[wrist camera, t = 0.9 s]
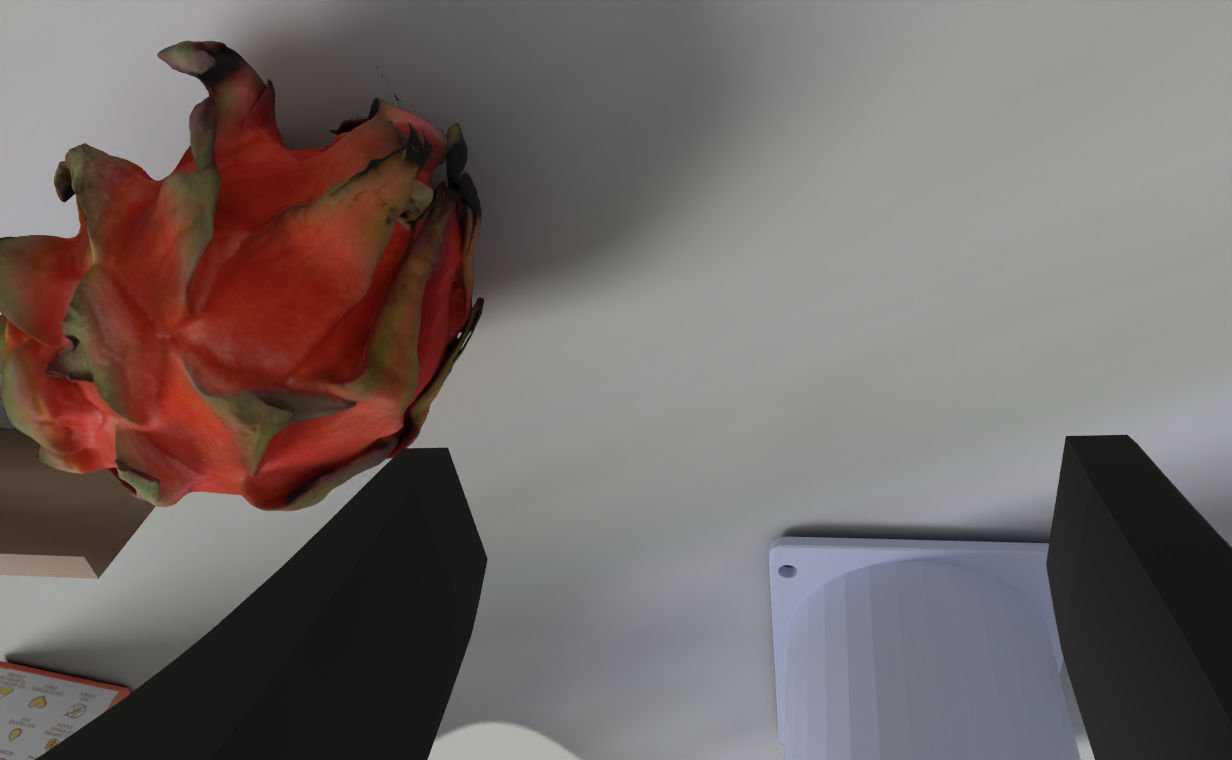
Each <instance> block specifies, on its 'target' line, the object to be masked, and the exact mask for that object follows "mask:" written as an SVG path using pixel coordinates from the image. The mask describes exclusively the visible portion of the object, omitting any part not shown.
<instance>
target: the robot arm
mask: <svg viewBox="0 0 1232 760" xmlns="http://www.w3.org/2000/svg"><path fill="white" fill-rule="evenodd" d="M486 564H487V556H486V554H485V551H484V548H483V545H482V542H481V540H480V537H479V534H478V531H477V528H476V525H475V523H474V520H473V517H472V514H471V511H470V509H469V506H468V503H467V500H466V497H465V495H464V492H463V489H462V486H461V483H460V480H459V478H458V475H457V472H456V469H455V466H454V464H453V461H452V458H451V455H450V452H449V450H448V448H407V449H402V450H401V451H400V452H399V453H398V454H397V455H396V456H395V457H394V458H393V459H392V460H390V461H389V462H388V463H387V464H386V465H385V466H384V467H383V468H382V469H381V470H380V471H379V472H378V473H377V474H376V475H375V476H374V477H373V478H372V479H371V480H370V481H369V482H368V483H367V484H366V485H365V486H364V487H363V488H362V489H361V490H360V491H359V492H358V493H357V494H356V495H355V496H354V497H353V498H352V499H351V500H350V501H349V502H348V503H347V504H346V505H345V506H344V507H343V508H342V509H341V510H340V511H339V512H338V513H337V514H336V515H335V516H334V517H333V518H332V519H331V520H330V521H329V522H328V523H327V524H326V525H325V526H324V527H323V528H321V529H320V530H319V531H318V532H317V533H316V534H315V535H314V536H313V537H312V538H311V539H310V540H309V541H308V542H307V543H306V544H305V545H304V546H303V547H302V548H301V549H300V550H299V551H298V552H297V553H296V554H295V555H294V556H293V557H292V558H291V559H290V560H289V561H288V562H287V563H285V564H284V565H283V566H282V567H281V568H280V569H279V570H278V571H277V572H276V573H275V574H273V575H272V576H271V577H270V578H269V579H268V580H267V581H266V582H265V583H263V584H262V585H261V586H260V587H259V588H258V589H257V590H256V591H255V592H253V593H252V594H251V595H250V596H249V597H248V598H247V599H246V600H245V601H243V602H242V603H241V604H240V605H239V606H238V607H237V608H236V609H234V610H233V611H232V612H231V613H230V614H229V615H228V616H227V617H226V618H224V619H223V620H222V621H221V622H220V623H219V624H218V625H217V626H215V627H214V628H213V629H212V630H211V631H210V632H208V633H207V634H206V635H205V636H204V637H202V638H201V639H200V640H199V641H198V642H196V643H195V644H194V645H193V646H191V647H190V648H189V649H188V650H186V651H185V652H184V653H183V654H182V655H180V656H179V657H178V658H177V659H175V660H174V661H173V662H171V663H170V664H169V665H167V666H166V667H165V668H164V669H162V670H161V671H160V672H158V673H157V674H156V675H154V676H153V677H152V678H151V679H149V680H148V681H147V682H145V683H144V684H143V685H141V686H140V687H139V688H138V689H136V690H135V691H134V692H132V693H131V694H129V695H128V696H127V697H125V698H124V699H123V700H121V701H120V702H118V703H117V704H116V705H114V706H113V707H111V708H110V709H108V710H107V711H105V712H104V713H102V714H101V715H99V716H98V717H97V718H95V719H94V720H92V721H91V722H89V723H88V724H86V725H85V726H83V727H82V728H80V729H79V730H78V731H76V732H75V733H73V734H72V735H70V736H69V737H67V738H66V739H64V740H63V741H62V742H60V743H59V744H57V745H56V746H54V747H53V748H51V749H50V750H48V751H47V752H45V753H44V754H43V755H41V756H39V757H38V758H36V759H35V760H427V759H428V757H429V754H430V751H431V748H432V745H433V743H434V740H435V737H436V734H437V731H438V729H439V726H440V723H441V720H442V717H443V715H444V712H445V709H446V706H447V703H448V701H449V698H450V695H451V692H452V689H453V686H454V684H455V681H456V678H457V675H458V672H459V669H460V666H461V663H462V661H463V658H464V655H465V652H466V649H467V646H468V643H469V640H470V637H471V634H472V630H473V626H474V622H475V617H476V613H477V608H478V604H479V600H480V594H481V589H482V584H483V579H484V574H485V569H486ZM783 565H791V566H793V567H784V566H783ZM769 571H770V589H771V607H772V625H773V643H774V661H775V679H776V697H777V715H778V733H779V740H780V742H781V743H782V744H783V745H784V760H1080V755H1079V751H1078V747H1077V743H1076V739H1075V735H1074V731H1073V727H1072V723H1071V719H1070V715H1069V711H1068V707H1067V703H1066V699H1065V695H1064V690H1063V686H1062V682H1061V678H1060V673H1061V668H1062V664H1063V659H1064V660H1065V664H1066V667H1067V670H1068V674H1069V677H1070V680H1071V684H1072V687H1073V690H1074V693H1075V697H1076V700H1077V703H1078V706H1079V710H1080V713H1081V716H1082V719H1083V722H1084V726H1085V729H1086V732H1087V735H1088V738H1089V742H1090V745H1091V748H1092V751H1093V754H1094V758H1095V760H1232V547H1231V546H1230V545H1229V544H1228V543H1227V542H1226V541H1225V540H1224V539H1223V538H1222V537H1221V536H1220V535H1219V534H1218V533H1217V532H1216V531H1215V530H1214V529H1213V527H1212V526H1211V525H1210V524H1209V523H1208V522H1207V521H1206V520H1205V519H1204V518H1203V517H1202V516H1201V514H1200V513H1199V512H1198V511H1197V510H1196V509H1195V508H1194V507H1193V506H1192V505H1191V504H1190V503H1189V501H1188V500H1187V499H1186V498H1185V497H1184V496H1183V495H1182V494H1181V493H1180V492H1179V490H1178V489H1177V488H1176V487H1175V486H1174V485H1173V484H1172V483H1171V481H1170V480H1169V479H1168V478H1167V477H1166V476H1165V475H1164V474H1163V472H1162V471H1161V470H1160V469H1159V468H1158V467H1157V466H1156V465H1155V463H1154V462H1153V461H1152V460H1151V459H1150V458H1149V457H1148V455H1147V454H1146V453H1145V452H1144V451H1143V450H1142V449H1141V448H1140V446H1139V445H1138V444H1137V443H1136V442H1135V441H1134V440H1133V439H1131V438H1130V437H1129V436H1128V435H1099V436H1066V439H1065V446H1064V452H1063V458H1062V465H1061V471H1060V478H1059V484H1058V490H1057V497H1056V503H1055V509H1054V516H1053V522H1052V529H1051V535H1050V541H1049V543H1017V542H978V541H939V540H900V539H861V538H822V537H780V538H778V539H775V540H774V541H773V542H772V543H771V544H770V547H769Z"/></svg>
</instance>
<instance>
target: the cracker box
mask: <svg viewBox="0 0 1232 760" xmlns="http://www.w3.org/2000/svg"><path fill="white" fill-rule="evenodd" d="M129 694H131V693H130V691H129V689H128V688H126V687H121V686H116V685H112V684H107V683H101V682H97V681H92V680H88V679H83V678H78V677H74V676H69V675H64V674H59V673H54V672H49V671H45V670H41V669H36V668H31V667H27V666H22V665H17V664H12V663H7V662H2V661H0V760H35V759H36V758H38V757H39V756H41V755H43V754H44V753H45V752H47V751H48V750H50V749H51V748H53V747H54V746H56V745H57V744H59V743H60V742H62V741H63V740H64V739H66V738H67V737H69V736H70V735H72V734H73V733H75V732H76V731H78V730H79V729H80V728H82V727H83V726H85V725H86V724H88V723H89V722H91V721H92V720H94V719H95V718H97V717H98V716H99V715H101V714H102V713H104V712H105V711H107V710H108V709H110V708H111V707H113V706H114V705H116V704H117V703H118V702H120V701H121V700H123V699H124V698H125V697H127V696H128V695H129Z"/></svg>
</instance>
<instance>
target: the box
mask: <svg viewBox="0 0 1232 760" xmlns="http://www.w3.org/2000/svg"><path fill="white" fill-rule="evenodd" d="M40 447H41V444H39V443H38V442H36V441H35V440H34V439H33V438H31V437H30V436H28V435H26V434H24V433H22V432H21V431H19V430H0V575H21V576H45V577H69V578H94V579H99V577H100V576H101V575H102V574H103V572H104V571H105V570H106V568H107V567H108V566H109V565H110V563H111V562H112V561H113V560H114V558H115V557H116V556H117V555H118V553H119V552H120V551H121V549H122V548H123V547H124V546H125V544H126V543H127V542H128V541H129V539H130V538H131V537H132V535H133V534H134V533H135V532H136V530H137V529H138V528H139V527H140V525H141V524H142V523H143V522H144V520H145V519H146V518H147V516H148V515H149V514H150V513H151V511H152V510H153V509H154V508H155V505H152V504H151V503H150V502H148V501H147V500H141V499H138V498H136V497H134V496H132V495H131V494H130V492H129V491H128V490H127V489H126V488H125V487H123V486H122V485H121V483H120V481H119V480H118V479H116V478H115V476H114V475H113V474H112V473H111V472H110V471H109V470H108V469H107V468H105V469H100V470H97V471H93V472H90V473H85V474H80V473H71V472H66V471H63V470H59V469H56V468H53V467H51V466H49V465H47V464H45V463H43V462H41V461H40V460H38V459H37V458H36V456H38V455H39V450H40Z"/></svg>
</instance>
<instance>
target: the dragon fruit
mask: <svg viewBox="0 0 1232 760" xmlns="http://www.w3.org/2000/svg"><path fill="white" fill-rule="evenodd" d="M157 56H158V57H159V58H160V59H162V60H163V61H165V62H166V63H167V64H168V65H169V66H170V67H171V68H172V69H175V70H177V71H179V72H182V73H186V74H189V75H191V76H194V77H196V78H198V79H199V80H200V81H201V82H202V83H203V84H204V85H205V87H206V89H207V90H208V92H209V97H207V98H206V99H204V100H203V101H202V102H201V103H199V104H197V105H196V106H195V107H194V109H193V111H192V113H191V115H190V119H189V122H190V124H189V128H190V135H191V137H190V140H191V145H190V147H189V148H188V149H187V150H186V152H185V154H184V155H183V157H182V159H181V160H180V162H179V164H178V165H177V167H176V168H175V169H174V171H173V172H172V173H171V174H170V175H169V176H167V177H166V178H164V179H163V180H160V181H156V180H153V179H152V178H151V177H150V176H149V175H148V174H147V173H146V172H145V171H144V170H143V169H142V168H141V167H139V166H138V165H136V164H134V163H132V162H130V161H128V160H125V159H122V158H119V157H114V156H110V155H108V154H107V153H105V152H103V151H101V150H98V149H96V148H93V147H91V146H89V145H87V144H86V143H84V144H82V145H79V146H77V147H75V148H72V149H70V150H69V151H68V153H67V154H66V157H65V161H63V162H60V163H59V166H58V169H57V170H56V173H55V177H54V185H55V188H56V192H57V195H58V197H59V198H60V200H61V201H62V202H66V201H67V200H68V199H70V198H71V197H72V196H73V195H74V194H76V200H77V207H78V212H79V220H80V224H81V227H80V231H79V234H78V235H77V236H76V237H73V238H61V237H57V236H47V235H29V236H20V237H4V238H0V312H1V313H2V315H0V372H1V374H2V375H3V377H2V382H3V385H2V387H1V396H2V398H1V400H2V403H3V405H4V408H5V412H6V415H7V417H8V419H9V420H10V421H11V423H12V425H13V426H14V427H15V428H16V429H18V430H19V431H21V432H22V433H24V434H26V435H28V436H30V437H31V438H33V439H34V440H35V441H36V442H38V443H39V444H41V447H40V450H39V455H38V456H36V458H37V459H38V460H40V461H41V462H43V463H45V464H47V465H49V466H51V467H53V468H56V469H59V470H63V471H66V472H71V473H80V474H85V473H90V472H93V471H97V470H100V469H105V468H107V469H108V470H109V471H110V472H111V473H112V474H113V475H114V476H115V478H116V479H118V480H119V481H120V483H121V485H122V486H123V487H125V488H126V489H127V490H128V491H129V492H130V494H131V495H132V496H134V497H136V498H138V499H141V500H147V501H148V502H150V503H151V504H152V505H155V506H159V507H168V506H171V505H174V504H176V503H177V502H178V501H179V500H180V499H181V498H182V497H183V496H185V495H186V494H188V493H190V492H200V491H202V492H213V493H222V494H233V495H242V496H243V497H244V498H245V499H246V500H247V501H248V502H249V503H250V504H251V505H253V506H254V507H256V508H258V509H261V510H265V511H295V510H299V509H302V508H306V507H310V506H313V505H315V504H317V503H319V502H320V501H321V500H323V499H324V498H325V497H326V496H327V494H328V493H329V492H330V491H331V490H332V489H334V488H335V487H337V486H339V485H341V484H343V483H344V482H346V481H347V480H349V479H350V478H352V477H354V476H355V475H357V474H359V473H361V472H363V471H365V470H368V469H370V468H372V467H374V466H377V465H379V464H380V463H382V462H383V461H384V460H385V459H388V458H393V457H395V456H396V455H397V454H398V453H399V452H400V451H401V450H402V449H406V448H407V447H408V446H410V445H411V444H412V443H413V442H414V441H415V439H416V438H417V437H418V435H419V433H420V429H421V427H422V425H423V423H424V422H425V419H426V417H427V415H428V412H429V407H430V404H431V402H432V401H433V400H434V398H435V397H436V396H437V394H438V392H439V390H440V388H441V386H442V385H443V383H444V381H446V380H445V379H446V378H447V377H448V374H450V372H451V369H452V367H453V365H454V363H455V362H456V360H457V359H458V358H459V356H460V355H461V354H462V352H463V350H464V349H465V347H466V345H467V343H468V341H469V340H470V338H471V336H472V334H473V332H474V329H475V327H476V325H477V323H478V320H479V318H480V316H481V314H482V309H483V304H484V299H483V298H481V297H479V298H478V299H477V301H476V303H475V305H474V307H473V308H472V290H473V253H474V247H475V244H476V241H477V238H478V235H479V230H480V224H481V205H480V201H479V198H478V195H477V190H476V188H475V186H474V184H473V181H472V179H471V177H470V176H469V174H468V173H467V172H465V171H464V170H463V168H464V167H465V165H466V162H467V146H466V143H465V140H464V138H463V135H462V132H461V129H460V126H459V124H458V123H455V124H454V125H453V126H452V127H450V128H449V129H448V131H447V134H446V136H447V139H446V137H445V135H444V133H443V131H442V130H441V129H440V128H438V127H437V126H435V125H433V124H431V123H430V122H428V121H427V120H424V119H422V118H421V117H419V116H417V115H414V114H411V113H409V112H407V111H404V110H402V109H400V108H401V107H400V108H398V107H395V106H393V105H391V104H389V103H387V102H385V101H383V100H381V99H380V98H375V99H374V101H373V104H372V106H371V110H370V113H369V116H368V117H364V118H358V117H357V118H352V119H346V120H344V121H343V122H342V123H341V125H340V127H339V128H337V129H335V130H330V132H332V133H335V134H337V135H338V137H337V138H336V139H335V140H334V142H333V143H332V144H330V145H328V146H326V147H325V148H308V149H304V150H296V149H291V150H288V149H287V148H286V146H285V144H284V142H283V139H282V137H281V134H280V132H279V130H278V127H277V124H276V120H275V90H274V87H273V84H272V82H271V80H270V79H268V82H267V83H268V84H267V87H266V85H265V84H264V83H263V81H262V80H261V78H260V77H259V76H258V74H257V73H256V72H255V70H254V69H253V68H252V67H251V66H250V65H249V64H248V63H247V62H246V61H245V60H244V59H243V58H242V57H241V56H240V55H239V54H238V53H237V52H235V51H234V50H232V49H230V48H229V47H227V46H226V45H225V44H224V43H221V42H215V41H204V42H192V41H184V42H180V43H178V44H177V45H173V46H170V47H168V48H165V49H163V50H162V51H160V52H159V53H158V54H157ZM377 68H378V67H377ZM379 71H380V70H379ZM381 75H382V74H381ZM382 76H383V75H382ZM385 81H387V80H385ZM394 94H395V93H394ZM395 97H396V95H395ZM396 99H397V101H398V100H399V99H398V98H397V97H396ZM399 101H400V100H399ZM400 102H401V101H400ZM398 104H399V103H398ZM399 106H400V105H399ZM408 111H409V110H408ZM360 117H362V116H360ZM445 160H446V164H447V178H448V183H449V184H448V186H446V183H445V181H444V182H441V183H440V184H439V185H438V186H437V187H436V189H435V190H433V189H432V188H431V187H430V186H429V182H430V179H431V177H432V174H433V172H434V169H435V168H436V167H437V166H438V165H440V164H443V163H444V162H445ZM471 331H472V332H471ZM460 332H462V334H461V336H460V337H459V339H458V338H457V336H458V334H459V333H460ZM470 332H471V334H470V335H469V337H468V339H467V341H466V343H465V344H464V346H463V348H462V349H461V347H462V345H463V343H464V341H465V339H466V337H467V336H468V334H469V333H470ZM460 349H461V350H460Z"/></svg>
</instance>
